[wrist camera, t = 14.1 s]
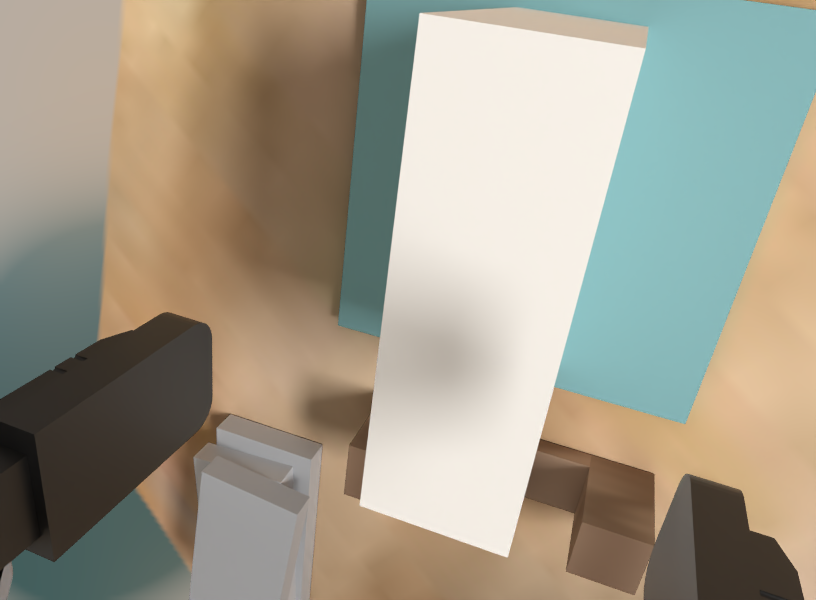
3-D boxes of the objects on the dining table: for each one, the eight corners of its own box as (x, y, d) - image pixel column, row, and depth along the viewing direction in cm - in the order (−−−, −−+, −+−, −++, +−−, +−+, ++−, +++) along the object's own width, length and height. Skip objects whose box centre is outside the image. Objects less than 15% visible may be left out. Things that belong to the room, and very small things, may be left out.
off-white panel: (648, 26, 20) (645, 48, 11) (557, 365, 25) (507, 557, 16) (517, 7, 21) (419, 12, 12) (456, 337, 26) (359, 505, 17)
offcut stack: (333, 448, 31) (298, 498, 28) (317, 617, 37) (286, 675, 34) (221, 411, 33) (176, 454, 30) (222, 579, 38) (184, 631, 35)
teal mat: (840, 14, 18) (846, 14, 18) (684, 415, 25) (685, 424, 24) (378, -50, 22) (371, -51, 21) (343, 319, 28) (338, 325, 28)
